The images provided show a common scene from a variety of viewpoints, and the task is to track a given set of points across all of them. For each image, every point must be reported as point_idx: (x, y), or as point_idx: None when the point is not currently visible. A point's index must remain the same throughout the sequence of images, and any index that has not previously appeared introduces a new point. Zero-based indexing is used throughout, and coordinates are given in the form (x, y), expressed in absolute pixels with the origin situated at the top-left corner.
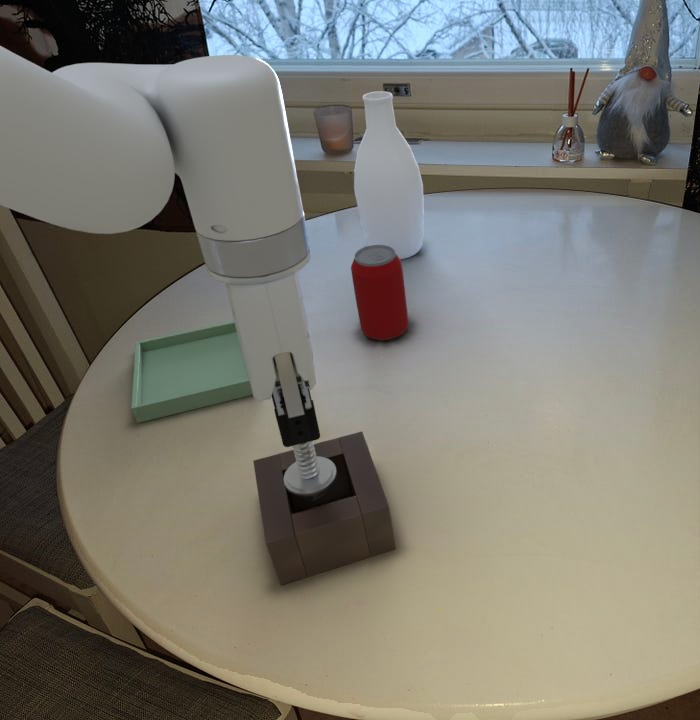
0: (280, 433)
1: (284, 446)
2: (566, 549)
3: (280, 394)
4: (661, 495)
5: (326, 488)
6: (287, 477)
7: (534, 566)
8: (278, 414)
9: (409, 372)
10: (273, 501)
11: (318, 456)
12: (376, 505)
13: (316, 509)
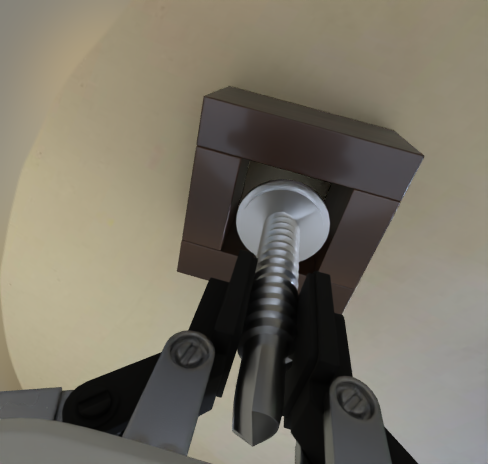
0: (232, 273)
1: (240, 249)
2: (123, 332)
3: (304, 370)
4: None
5: (237, 230)
6: (294, 193)
7: (118, 306)
8: (169, 340)
9: (461, 387)
10: (290, 145)
11: (307, 255)
12: (186, 261)
13: (227, 195)
